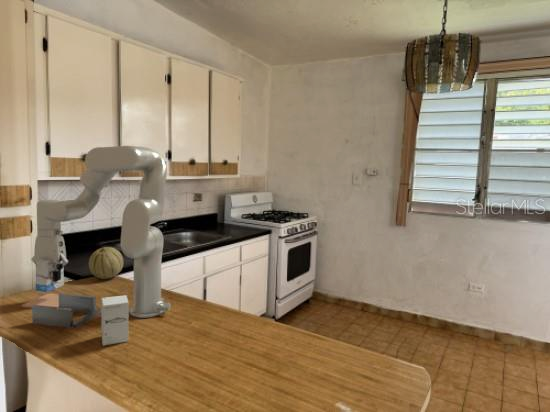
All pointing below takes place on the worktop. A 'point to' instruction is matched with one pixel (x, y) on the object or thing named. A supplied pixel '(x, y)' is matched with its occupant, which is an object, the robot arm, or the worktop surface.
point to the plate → (44, 301)
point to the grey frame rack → (66, 311)
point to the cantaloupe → (106, 263)
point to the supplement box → (114, 319)
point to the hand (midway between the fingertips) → (50, 279)
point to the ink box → (47, 276)
